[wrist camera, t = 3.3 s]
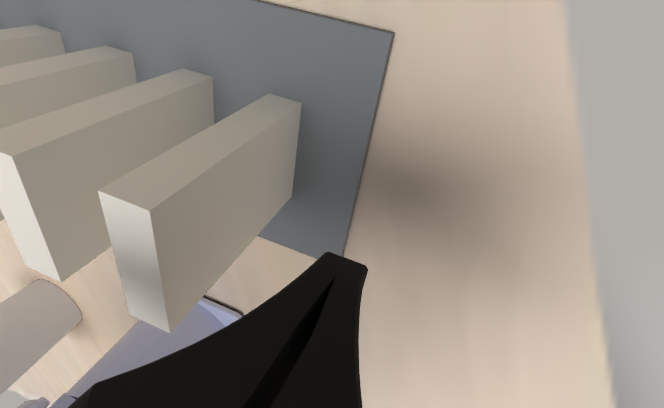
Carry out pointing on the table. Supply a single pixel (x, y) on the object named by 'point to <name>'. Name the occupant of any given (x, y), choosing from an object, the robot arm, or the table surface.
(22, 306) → the drinking glass
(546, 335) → the table surface
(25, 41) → the domino
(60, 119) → the domino
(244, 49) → the felt mat
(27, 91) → the domino
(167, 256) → the domino
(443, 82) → the table surface
